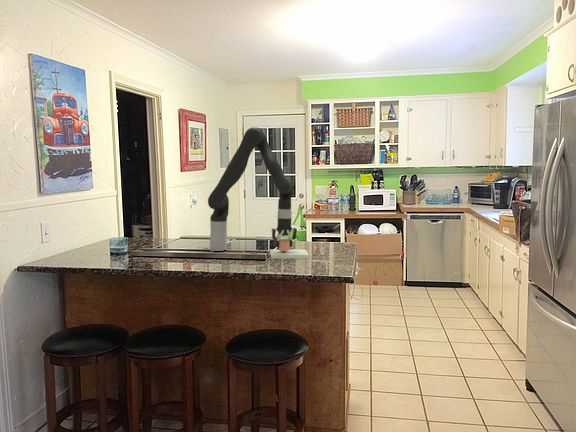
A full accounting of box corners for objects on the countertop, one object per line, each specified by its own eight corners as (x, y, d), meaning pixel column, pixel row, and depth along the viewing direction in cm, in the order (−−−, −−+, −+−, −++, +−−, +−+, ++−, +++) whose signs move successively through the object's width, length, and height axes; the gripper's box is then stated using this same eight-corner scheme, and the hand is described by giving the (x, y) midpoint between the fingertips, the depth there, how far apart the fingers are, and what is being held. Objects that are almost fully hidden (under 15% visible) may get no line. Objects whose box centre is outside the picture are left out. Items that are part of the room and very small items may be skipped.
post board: (271, 258, 254) (271, 247, 253) (270, 252, 268) (270, 242, 267) (308, 258, 256) (309, 247, 255) (305, 253, 270) (305, 242, 269)
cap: (284, 251, 257) (284, 241, 257) (275, 249, 262) (276, 239, 261) (291, 249, 262) (292, 239, 261) (283, 248, 266) (283, 238, 265)
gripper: (273, 218, 254) (273, 249, 256) (299, 217, 258) (298, 248, 260) (269, 216, 261) (269, 246, 263) (294, 215, 265) (294, 245, 267)
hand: (284, 247), depth 262 cm, fingers closed on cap, 6 cm apart
